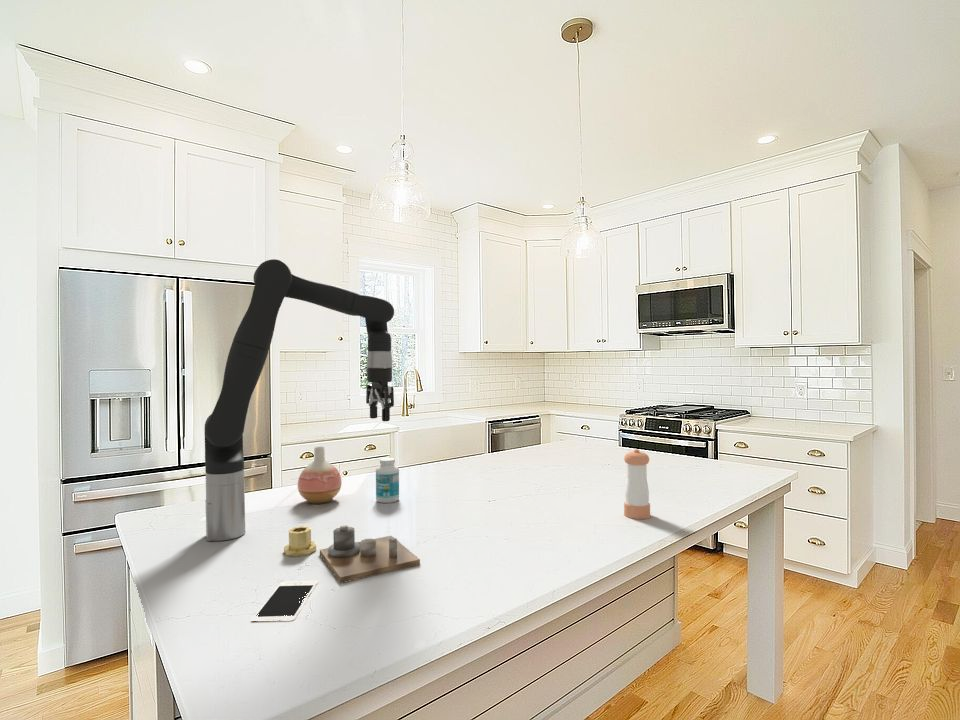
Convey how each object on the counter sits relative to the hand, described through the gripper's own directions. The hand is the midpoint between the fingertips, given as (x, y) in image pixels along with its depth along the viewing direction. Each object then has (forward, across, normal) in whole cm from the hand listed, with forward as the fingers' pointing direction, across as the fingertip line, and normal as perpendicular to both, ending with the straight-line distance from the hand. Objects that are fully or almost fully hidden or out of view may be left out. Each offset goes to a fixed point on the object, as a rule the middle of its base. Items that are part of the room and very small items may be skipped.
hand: (379, 419), depth 159 cm
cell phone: (+29, +42, -40) cm, 65 cm away
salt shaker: (+27, +51, +57) cm, 81 cm away
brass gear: (+28, +18, -30) cm, 44 cm away
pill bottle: (+28, -8, +7) cm, 30 cm away
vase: (+28, -21, -11) cm, 37 cm away
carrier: (+28, +33, -18) cm, 47 cm away
